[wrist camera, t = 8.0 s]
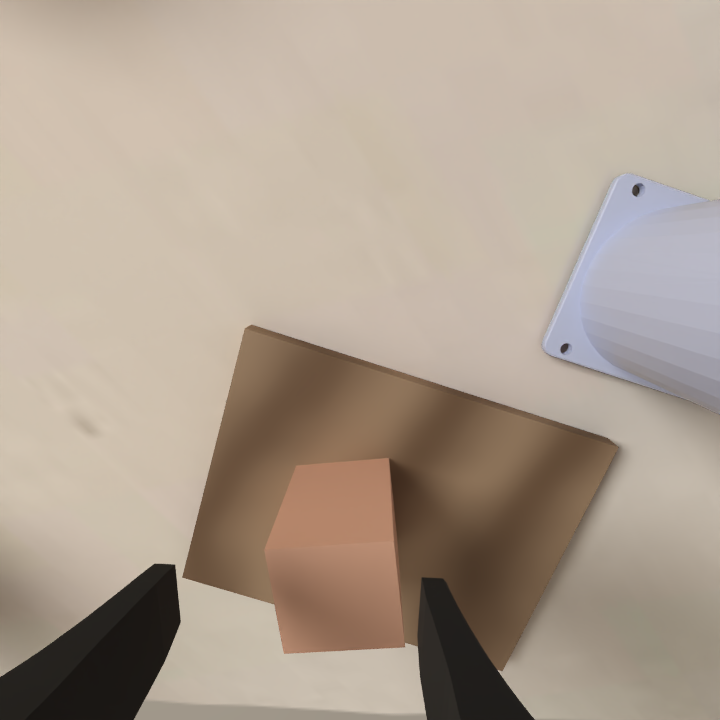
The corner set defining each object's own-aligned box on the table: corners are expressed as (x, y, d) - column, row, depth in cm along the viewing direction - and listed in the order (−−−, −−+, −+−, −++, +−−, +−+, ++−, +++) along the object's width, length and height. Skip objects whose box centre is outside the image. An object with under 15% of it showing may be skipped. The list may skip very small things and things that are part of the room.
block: (388, 458, 20) (393, 540, 14) (397, 539, 21) (404, 647, 15) (296, 465, 20) (264, 549, 15) (309, 545, 21) (283, 653, 16)
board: (607, 438, 20) (618, 447, 20) (497, 654, 24) (502, 671, 23) (251, 324, 20) (244, 328, 19) (190, 563, 23) (182, 577, 22)
